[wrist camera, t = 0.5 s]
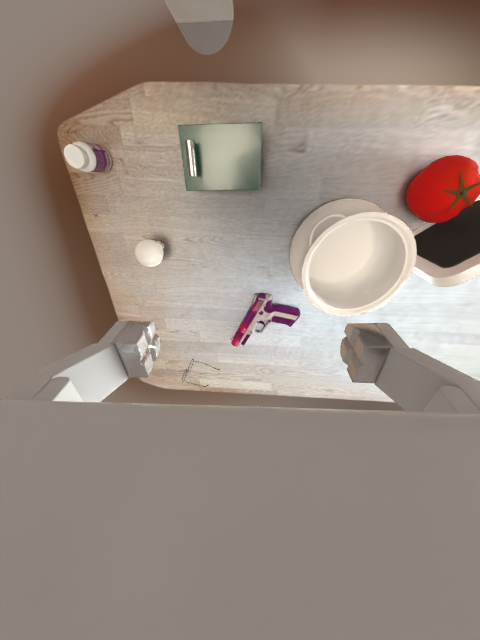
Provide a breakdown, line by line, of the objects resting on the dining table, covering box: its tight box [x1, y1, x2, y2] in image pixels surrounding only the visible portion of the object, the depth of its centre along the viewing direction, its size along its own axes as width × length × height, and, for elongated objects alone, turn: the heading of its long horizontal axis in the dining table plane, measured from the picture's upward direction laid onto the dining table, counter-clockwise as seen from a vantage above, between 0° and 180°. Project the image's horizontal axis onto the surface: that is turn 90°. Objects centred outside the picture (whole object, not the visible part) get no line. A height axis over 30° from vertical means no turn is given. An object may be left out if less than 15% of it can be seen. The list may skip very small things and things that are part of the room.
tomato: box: [406, 155, 480, 223], centre depth 48 cm, size 12×12×13 cm
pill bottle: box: [64, 141, 112, 172], centre depth 50 cm, size 5×5×10 cm
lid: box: [178, 122, 262, 191], centre depth 44 cm, size 15×11×5 cm
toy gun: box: [231, 293, 300, 347], centre depth 75 cm, size 4×22×15 cm
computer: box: [412, 195, 480, 287], centre depth 49 cm, size 22×22×3 cm
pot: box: [290, 198, 417, 316], centre depth 55 cm, size 26×24×17 cm
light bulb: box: [135, 239, 164, 267], centre depth 60 cm, size 7×7×11 cm
